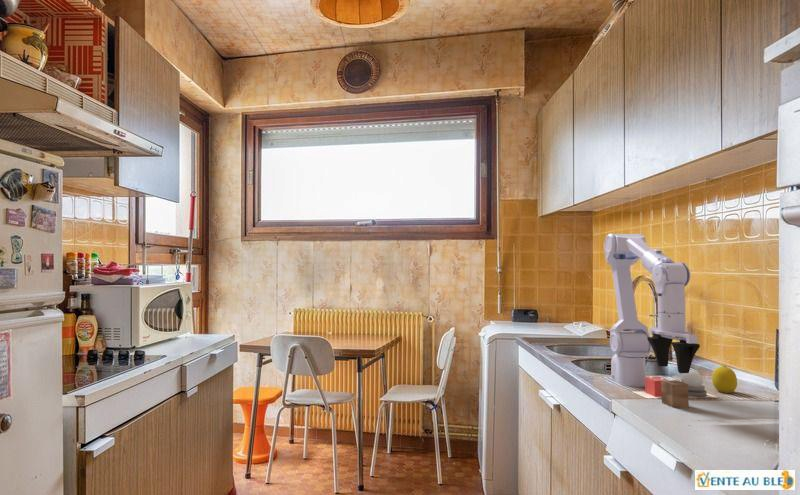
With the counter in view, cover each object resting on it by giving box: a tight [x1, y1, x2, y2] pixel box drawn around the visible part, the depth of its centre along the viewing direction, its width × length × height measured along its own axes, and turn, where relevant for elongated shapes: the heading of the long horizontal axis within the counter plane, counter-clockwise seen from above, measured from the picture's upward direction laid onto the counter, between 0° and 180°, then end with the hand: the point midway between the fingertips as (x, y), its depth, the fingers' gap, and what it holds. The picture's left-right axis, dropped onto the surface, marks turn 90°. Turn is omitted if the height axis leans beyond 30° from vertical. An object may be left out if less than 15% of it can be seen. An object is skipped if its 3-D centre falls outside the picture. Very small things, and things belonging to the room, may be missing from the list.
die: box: [644, 376, 667, 397], centre depth 121 cm, size 4×4×4 cm
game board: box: [631, 390, 717, 399], centre depth 116 cm, size 16×19×2 cm
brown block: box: [661, 379, 690, 408], centre depth 111 cm, size 4×4×6 cm
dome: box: [680, 369, 706, 392], centre depth 121 cm, size 6×6×5 cm
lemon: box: [711, 364, 738, 394], centre depth 124 cm, size 6×6×8 cm
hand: (672, 369), depth 111 cm, fingers open, 7 cm apart
